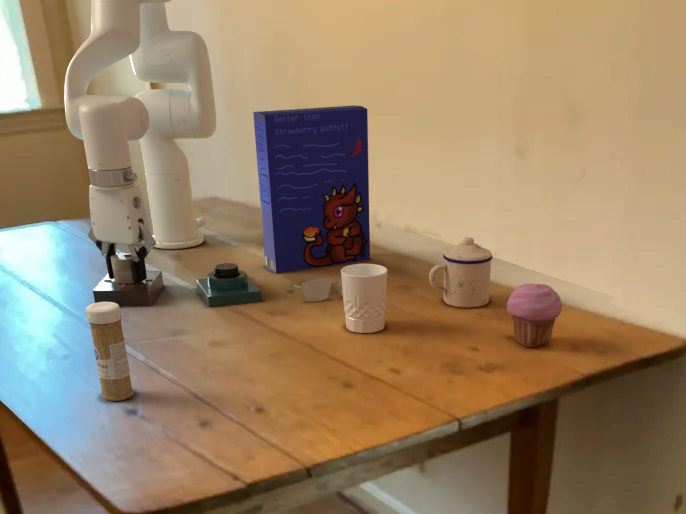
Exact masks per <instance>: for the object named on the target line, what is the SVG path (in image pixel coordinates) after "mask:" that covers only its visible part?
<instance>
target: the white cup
mask: <svg viewBox="0 0 686 514" xmlns="http://www.w3.org/2000/svg"><path fill="white" fill-rule="evenodd" d="M340 278H342V291H343V295H342V302H343V310H344V317H345V318H344V319H345V328H346V329H347V330H348V331H350V332H353V333H356V334H357V333H359V334H374V333H377V332H380V331H382V330H384V328H385V325H386V310H387V294H388V292H387V291H388V268H387V267H385V266H383V265H380V264H374V263H354V264H350V265H346V266H344V267H342V268H341V269H340Z"/></svg>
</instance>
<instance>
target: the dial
mask: <svg viewBox="0 0 686 514" xmlns="http://www.w3.org/2000/svg"><path fill="white" fill-rule="evenodd" d="M131 261H134V260H133V258H132V255H131V253H130V252H119V253H116V254H115V255H112V256H111V263H112V269H113V274H114V280H115V282H116V283H120V284H130V283H135V282H134V280H133V273H132V267H131Z"/></svg>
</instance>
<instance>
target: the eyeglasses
mask: <svg viewBox="0 0 686 514" xmlns="http://www.w3.org/2000/svg"><path fill="white" fill-rule="evenodd" d="M332 283H337V289H338V291H340V293H341V295H342V296H343V291H342V278H341V277H340V278H339V279H338V280H332V281H330V279H327V278H319V279H310V280H307V281H304V282H303V283H301V285H300V286H299V285H296V284H293V283H291V284H290V286H293V287H296V288H299V289H302V294H303V297H304V299H305V300H306V301H307V302H310V303H311V302H313V303H314V302H321V301H325V300H326V299H328V298H329V296H330V292H331V288H332Z"/></svg>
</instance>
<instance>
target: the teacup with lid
mask: <svg viewBox="0 0 686 514" xmlns="http://www.w3.org/2000/svg"><path fill="white" fill-rule="evenodd" d="M442 258H443V260H444V261H443V263H440V264H436V265H434V266H433V267H432V268H431V269H430V271H429V275H428V279H429V283H430V285H431V287H432V288H433V289H434V290H435V291H436V292H441V293H443V302H444V303H445V304H446V305H449V306H451V307H455V308H463V309H473V308H478V307H482V306H486V305H487V304H488V303H489V301H490V291H491V289H490V288H491V269H492V259H493V253H492V251H491V250H489V249H488V248H486V247H482V246H481V245H479V244H478V243H475V239H474V238H473V237H471V236H470V237H469V236H468V237H464V238H463V239H462V242H461V243H458V244H456V245H455V246H452V247H449V248H447V249H445V250H444V252H443V254H442ZM440 270H443V286H438V285H437V284H436V282H435V274H436V273H437V272H438V271H440Z"/></svg>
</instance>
